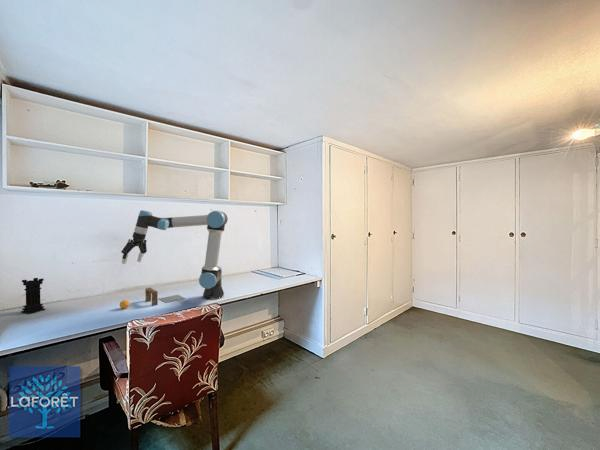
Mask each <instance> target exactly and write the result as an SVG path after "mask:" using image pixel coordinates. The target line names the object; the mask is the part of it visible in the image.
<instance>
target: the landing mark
mask: <svg viewBox="0 0 600 450" xmlns="http://www.w3.org/2000/svg"><path fill="white" fill-rule="evenodd" d="M158 300H160V301H161V302H163V303H165V304H168V303H172V302H173V303H174V302H177V301H181V300H183V301H184V300H186V298H185V297H183V296H181V295H180V294H174V295H170V296H165V297H159V298H158Z"/></svg>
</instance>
